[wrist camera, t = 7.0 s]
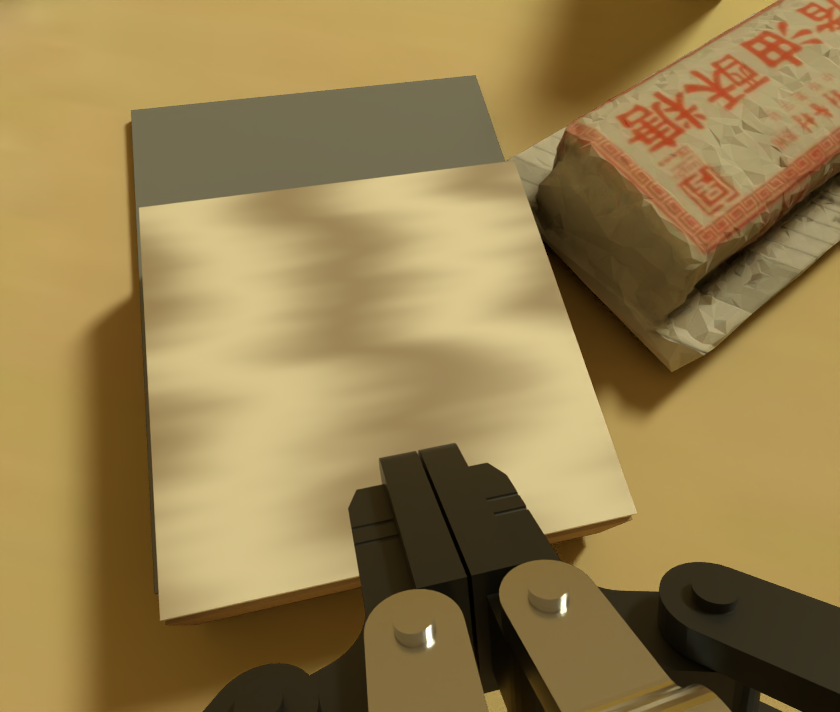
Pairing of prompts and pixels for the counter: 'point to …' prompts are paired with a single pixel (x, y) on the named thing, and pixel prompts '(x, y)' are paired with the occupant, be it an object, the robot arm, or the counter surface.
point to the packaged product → (701, 180)
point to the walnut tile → (352, 375)
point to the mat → (302, 150)
